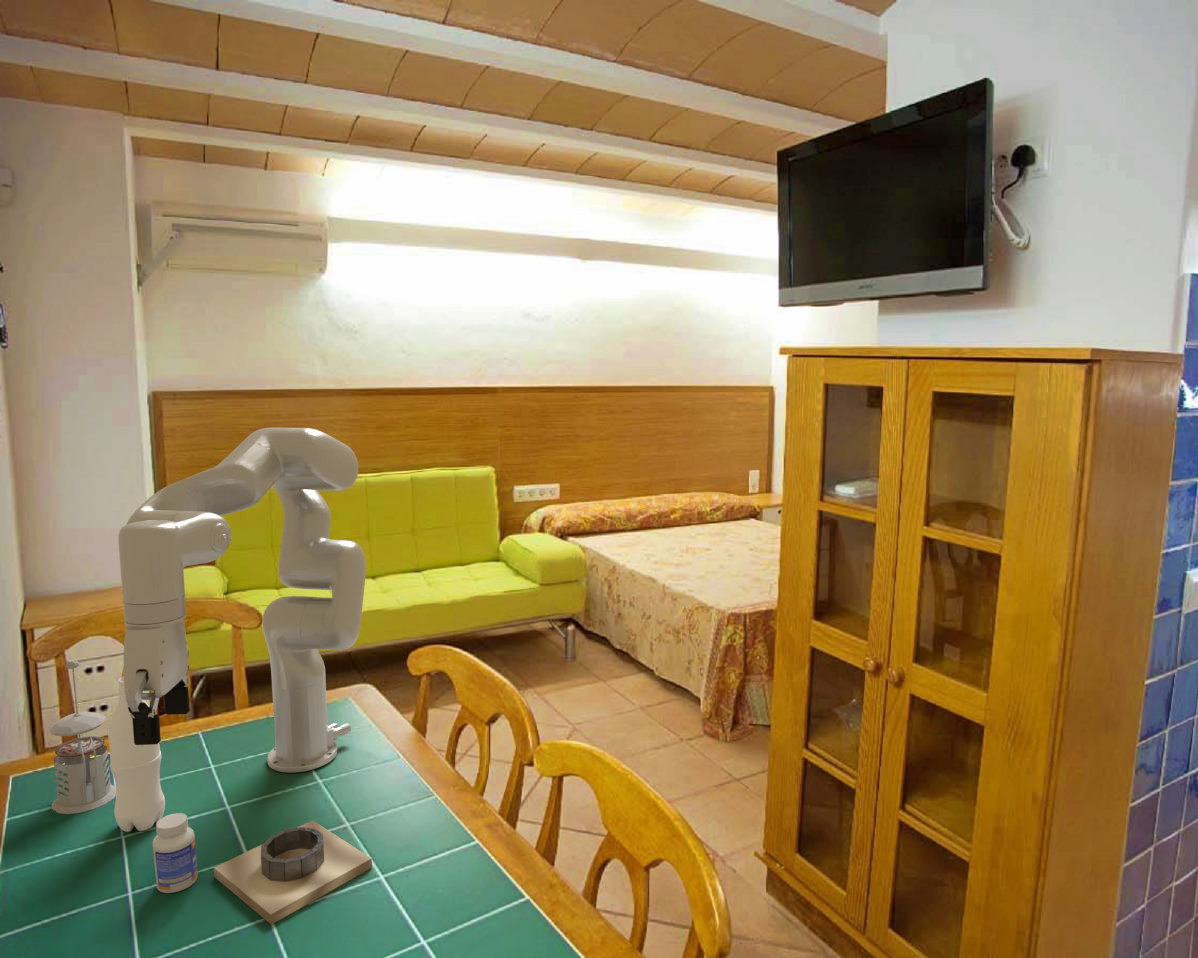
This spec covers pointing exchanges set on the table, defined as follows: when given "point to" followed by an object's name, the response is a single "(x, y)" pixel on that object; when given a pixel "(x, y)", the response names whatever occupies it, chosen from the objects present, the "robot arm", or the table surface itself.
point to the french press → (81, 762)
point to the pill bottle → (174, 854)
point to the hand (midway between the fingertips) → (163, 727)
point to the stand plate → (290, 896)
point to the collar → (297, 865)
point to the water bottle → (134, 772)
